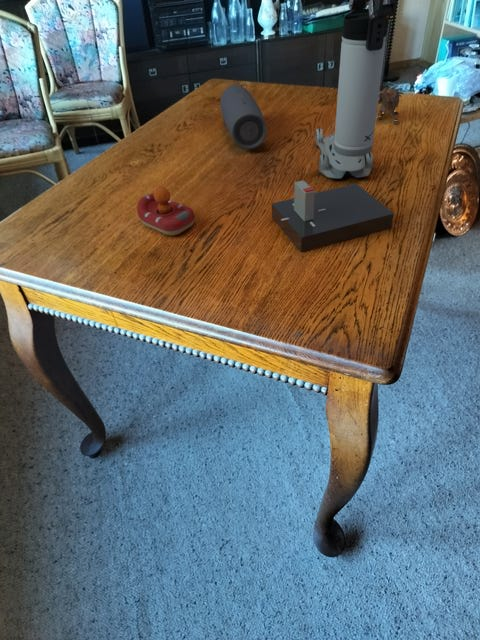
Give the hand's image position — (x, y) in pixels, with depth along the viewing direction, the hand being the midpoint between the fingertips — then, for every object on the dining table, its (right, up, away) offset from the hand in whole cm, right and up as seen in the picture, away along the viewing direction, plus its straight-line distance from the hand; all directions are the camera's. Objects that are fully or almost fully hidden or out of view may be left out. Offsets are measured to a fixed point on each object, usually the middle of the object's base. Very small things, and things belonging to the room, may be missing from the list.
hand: (364, 43), depth 68 cm
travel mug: (+1, -12, +11) cm, 16 cm away
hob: (-1, -22, +19) cm, 29 cm away
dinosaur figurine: (+21, +13, +56) cm, 61 cm away
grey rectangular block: (-7, -21, +16) cm, 27 cm away
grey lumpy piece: (+5, -4, +39) cm, 39 cm away
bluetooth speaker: (-17, +7, +52) cm, 55 cm away
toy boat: (-32, -22, +23) cm, 45 cm away
